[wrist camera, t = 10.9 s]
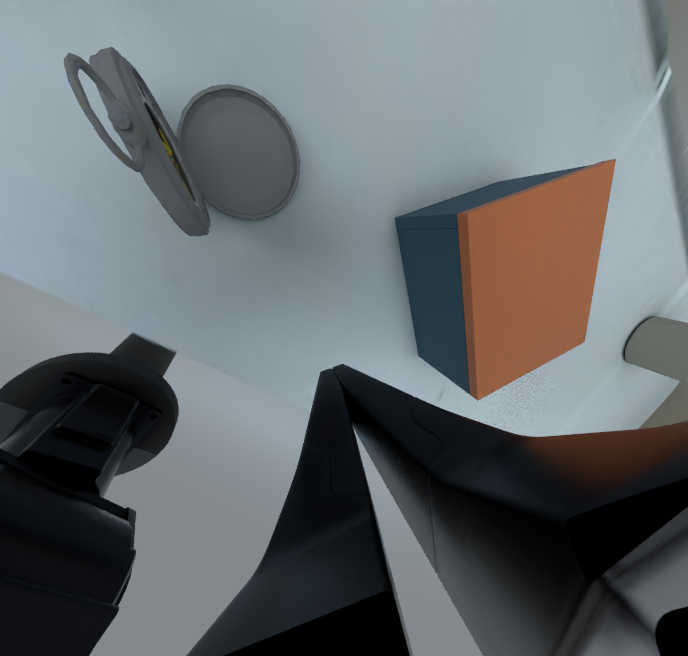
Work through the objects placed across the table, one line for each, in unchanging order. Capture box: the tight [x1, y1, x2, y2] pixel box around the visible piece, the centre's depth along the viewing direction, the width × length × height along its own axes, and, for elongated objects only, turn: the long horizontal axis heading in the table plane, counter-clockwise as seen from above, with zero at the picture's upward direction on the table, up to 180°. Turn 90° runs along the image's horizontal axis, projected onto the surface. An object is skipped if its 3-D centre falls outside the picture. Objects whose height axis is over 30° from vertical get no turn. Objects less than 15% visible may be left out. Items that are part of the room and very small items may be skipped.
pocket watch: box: [64, 47, 300, 236], centre depth 11 cm, size 8×8×10 cm
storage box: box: [395, 165, 591, 394], centre depth 21 cm, size 11×14×7 cm
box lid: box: [457, 159, 616, 400], centre depth 18 cm, size 11×14×1 cm
